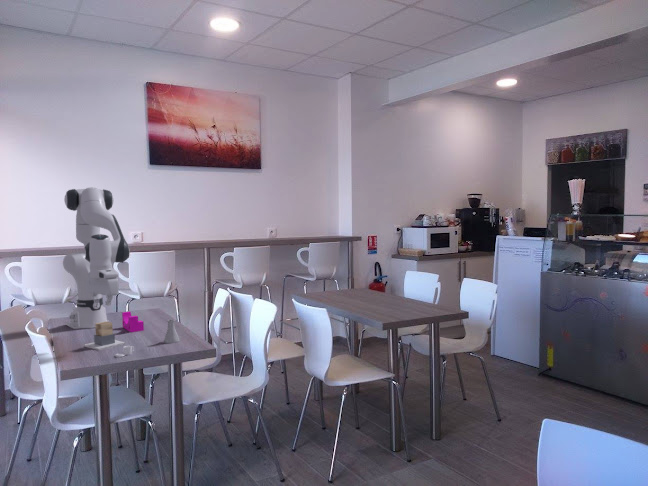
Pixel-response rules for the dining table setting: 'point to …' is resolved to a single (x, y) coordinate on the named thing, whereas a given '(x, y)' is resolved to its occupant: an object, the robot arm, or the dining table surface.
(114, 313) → the dining table surface
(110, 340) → the white platform base
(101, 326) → the beech block
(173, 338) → the flask
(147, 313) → the dining table surface
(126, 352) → the teacup and saucer
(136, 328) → the toy block
